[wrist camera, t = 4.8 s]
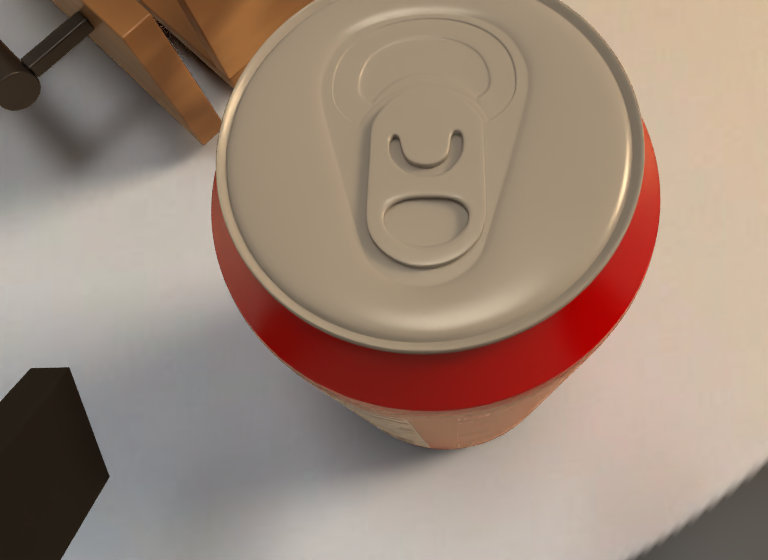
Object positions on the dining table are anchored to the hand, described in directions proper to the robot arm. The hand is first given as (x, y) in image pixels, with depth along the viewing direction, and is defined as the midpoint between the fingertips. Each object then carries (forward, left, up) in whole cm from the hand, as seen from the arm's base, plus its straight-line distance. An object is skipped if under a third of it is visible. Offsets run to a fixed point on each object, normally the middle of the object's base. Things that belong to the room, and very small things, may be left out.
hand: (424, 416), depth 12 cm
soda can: (+3, -3, -12) cm, 12 cm away
